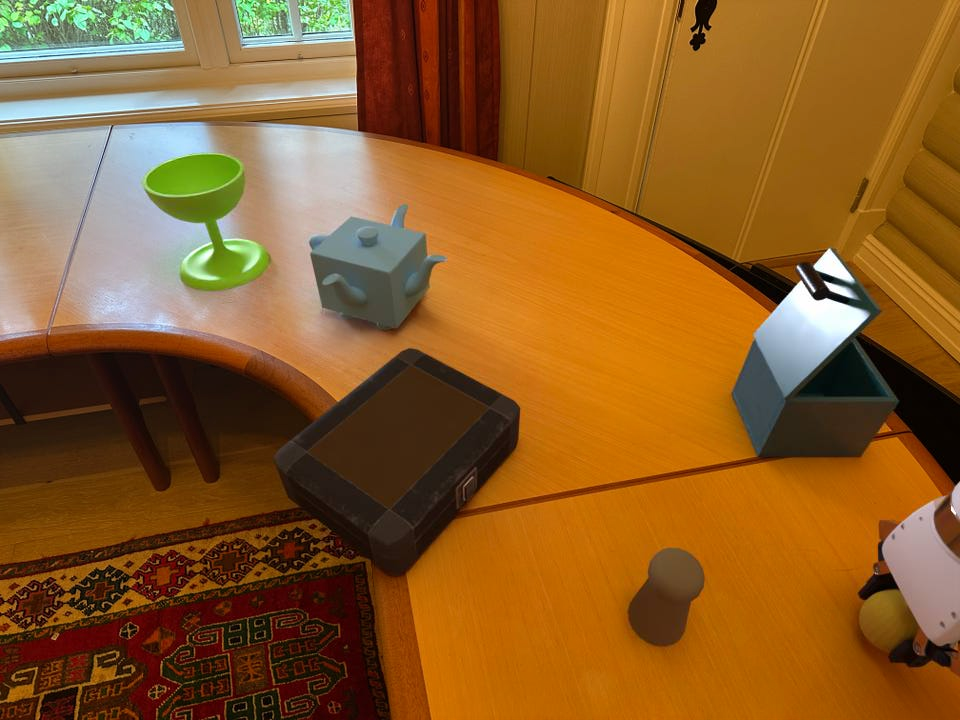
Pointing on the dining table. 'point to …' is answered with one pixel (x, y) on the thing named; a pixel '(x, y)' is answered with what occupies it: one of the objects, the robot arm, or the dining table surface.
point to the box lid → (814, 322)
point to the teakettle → (372, 269)
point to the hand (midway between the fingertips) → (888, 626)
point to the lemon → (887, 620)
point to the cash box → (399, 457)
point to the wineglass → (207, 216)
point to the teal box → (814, 407)
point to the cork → (666, 597)
